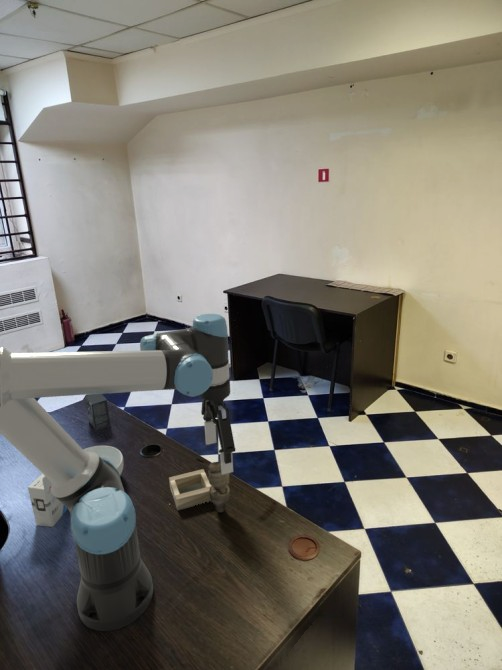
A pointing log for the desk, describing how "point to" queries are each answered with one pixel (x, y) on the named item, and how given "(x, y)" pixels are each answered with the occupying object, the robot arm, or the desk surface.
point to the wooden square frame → (190, 489)
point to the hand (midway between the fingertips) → (218, 457)
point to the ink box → (45, 502)
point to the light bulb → (218, 486)
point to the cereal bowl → (109, 455)
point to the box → (97, 411)
